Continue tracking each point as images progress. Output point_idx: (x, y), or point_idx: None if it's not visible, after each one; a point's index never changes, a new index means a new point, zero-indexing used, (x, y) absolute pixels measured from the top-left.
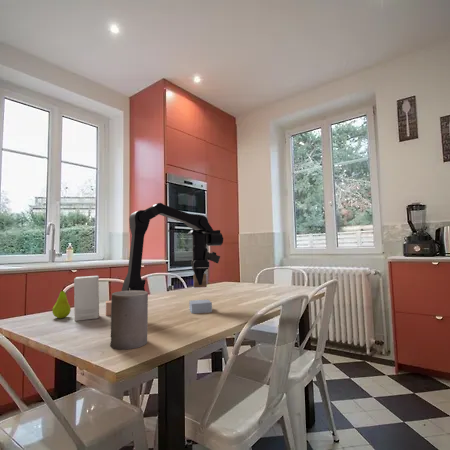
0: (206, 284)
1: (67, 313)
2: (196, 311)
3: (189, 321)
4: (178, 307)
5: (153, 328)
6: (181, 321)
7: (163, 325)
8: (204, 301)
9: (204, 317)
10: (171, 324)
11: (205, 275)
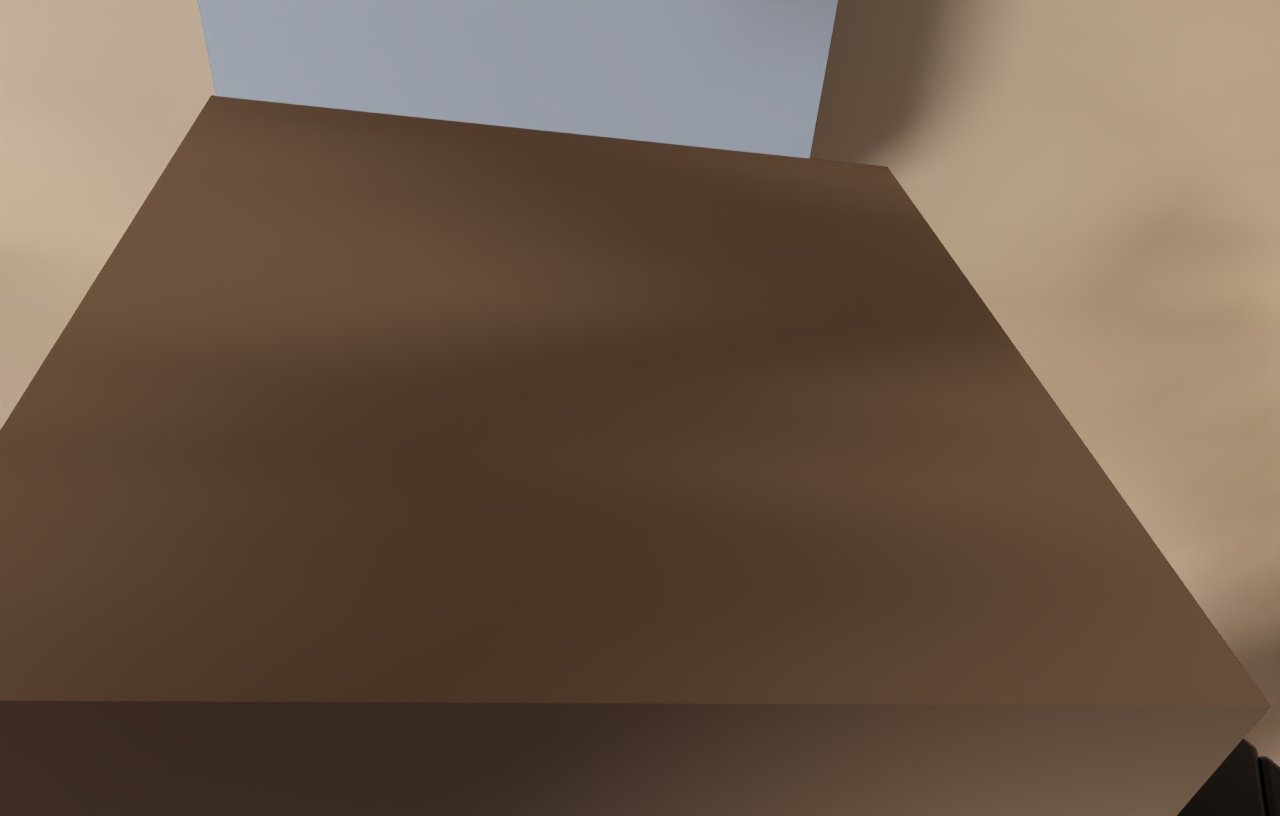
0: (932, 238)
1: None
2: None
3: (1270, 360)
4: (2, 426)
5: (1261, 688)
6: (1185, 452)
7: (1218, 621)
8: (549, 2)
9: (1199, 89)
10: (1242, 556)
11: (1184, 702)
